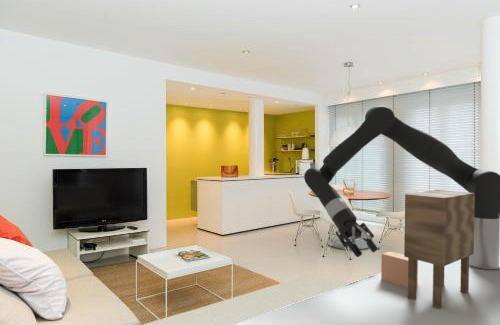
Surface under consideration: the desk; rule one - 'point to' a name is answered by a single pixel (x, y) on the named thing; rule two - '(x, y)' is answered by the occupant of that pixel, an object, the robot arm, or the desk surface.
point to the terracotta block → (395, 268)
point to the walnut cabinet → (438, 236)
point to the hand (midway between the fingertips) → (368, 253)
